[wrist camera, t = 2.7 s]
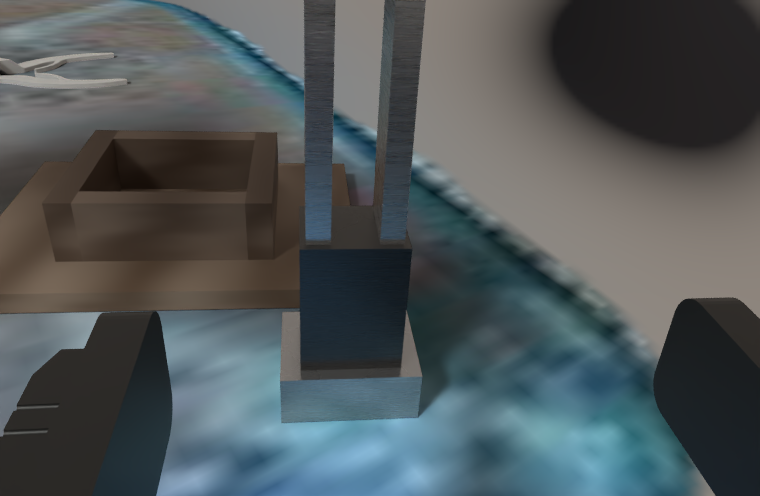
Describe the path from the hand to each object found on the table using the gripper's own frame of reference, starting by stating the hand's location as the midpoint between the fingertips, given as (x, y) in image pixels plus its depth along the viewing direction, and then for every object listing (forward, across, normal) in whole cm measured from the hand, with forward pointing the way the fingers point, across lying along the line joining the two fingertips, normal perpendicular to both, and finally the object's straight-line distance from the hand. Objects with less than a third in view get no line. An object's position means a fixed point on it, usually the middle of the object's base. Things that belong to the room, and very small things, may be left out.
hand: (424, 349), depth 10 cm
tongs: (+12, 0, +11) cm, 16 cm away
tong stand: (+24, +8, +11) cm, 27 cm away
